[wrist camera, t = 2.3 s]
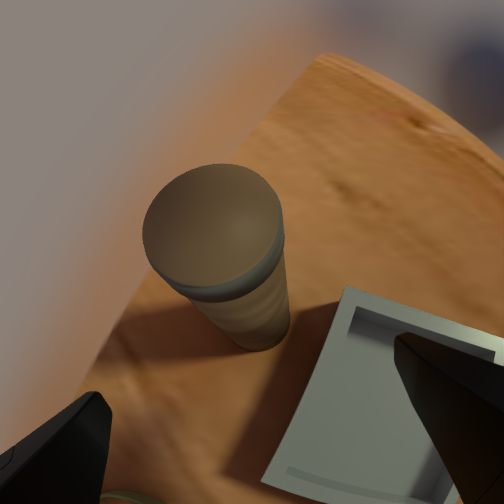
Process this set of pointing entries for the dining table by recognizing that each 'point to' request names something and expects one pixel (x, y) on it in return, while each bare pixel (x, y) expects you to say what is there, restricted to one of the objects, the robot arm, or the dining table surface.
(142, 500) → the cookie cutter
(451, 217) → the dining table surface
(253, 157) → the dining table surface
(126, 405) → the dining table surface
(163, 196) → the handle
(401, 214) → the dining table surface
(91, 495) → the robot arm
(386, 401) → the box
